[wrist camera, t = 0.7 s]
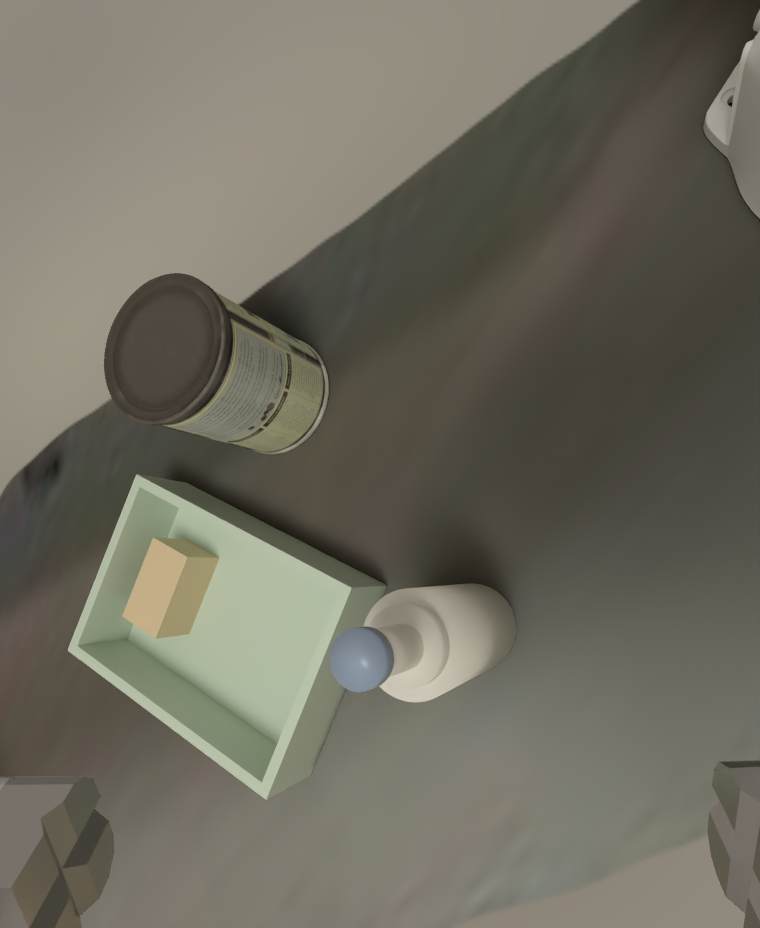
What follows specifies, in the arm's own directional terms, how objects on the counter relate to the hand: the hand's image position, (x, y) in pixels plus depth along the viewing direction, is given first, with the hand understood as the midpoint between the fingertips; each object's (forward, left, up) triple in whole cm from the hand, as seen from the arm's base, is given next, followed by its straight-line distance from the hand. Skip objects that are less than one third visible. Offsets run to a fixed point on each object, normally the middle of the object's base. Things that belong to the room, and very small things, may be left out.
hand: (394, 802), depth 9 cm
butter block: (+13, -33, -37) cm, 51 cm away
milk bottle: (+5, -9, -38) cm, 39 cm away
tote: (+13, -27, -38) cm, 48 cm away
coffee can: (-5, -32, -38) cm, 50 cm away
